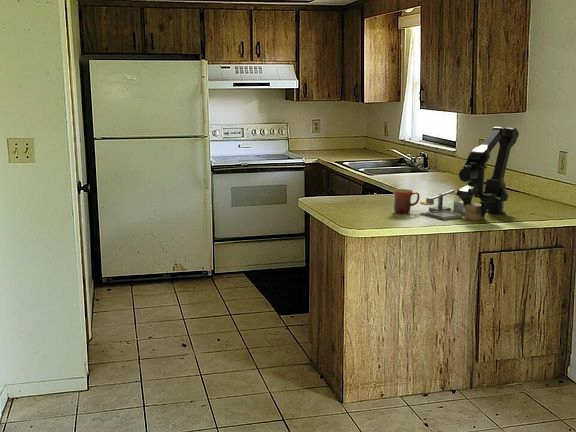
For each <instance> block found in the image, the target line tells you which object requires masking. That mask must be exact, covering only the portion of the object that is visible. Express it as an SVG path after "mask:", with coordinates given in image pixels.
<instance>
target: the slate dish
mask: <svg viewBox="0 0 576 432" xmlns="http://www.w3.org/2000/svg"><path fill="white" fill-rule="evenodd" d="M425 214H426V217H430V218H433V219H436V220H437V219H438V220H441V221H448V220H455V219H463V214H461V213H456V212H453V211H446V210H443V211H435V212H432V211H429V212H427V211H426V213H425Z"/></svg>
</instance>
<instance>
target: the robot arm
mask: <svg viewBox="0 0 576 432" xmlns="http://www.w3.org/2000/svg"><path fill="white" fill-rule="evenodd" d="M519 134H520V133H519V131H518V129H517V128H515V127H507V126H505V127H504V126H494V127H492V129H491V132H490V133H489V134H488V135H487V137H486V138H485V139H484V140H483V141H482V143H481V144H480V145H479V146H476V147H475V148H473V149H472V150H471V151H470V153H469V154H468V157H467V159H466V160H465V161H466V162H465V163H464V165H463V168H461V170H459V173H458V177H459V180H461V182H466V183H467V184H466V185H464V186H463V187H461V188H458V189H457V190H456V191H457V195H456V196H458V198H459V200H462V201H463V203H464V206H465V204H472V199H473V198H477V199H480V201H479V204H481V216H482V217H483V216H484V215H485V216H486V213H489V214H493V215H501V214H506V211H504V206H505V205H504V202H507V201H508V199H509V195H508V192H507V190H506V183H505V180H504V179H505V178H504V177H505V174H506V170H507V165H508V161H509V157H510V152H511V149H512V148H513V147H514V145H515V144H516V143H517V141H518V138H519V136H520V135H519ZM497 144H499V148H498V152H497V156H496V161H495V164H494V167H493V173H492V176H491V177H490V178H487V179H486V181H485V169H488V167H487V165H486V164H487V163H488V161H489V160H490V157H491V155H490V153H491V151H492V150H493V149H494V148H495V146H496V145H497ZM484 185H485V187H484Z"/></svg>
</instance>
